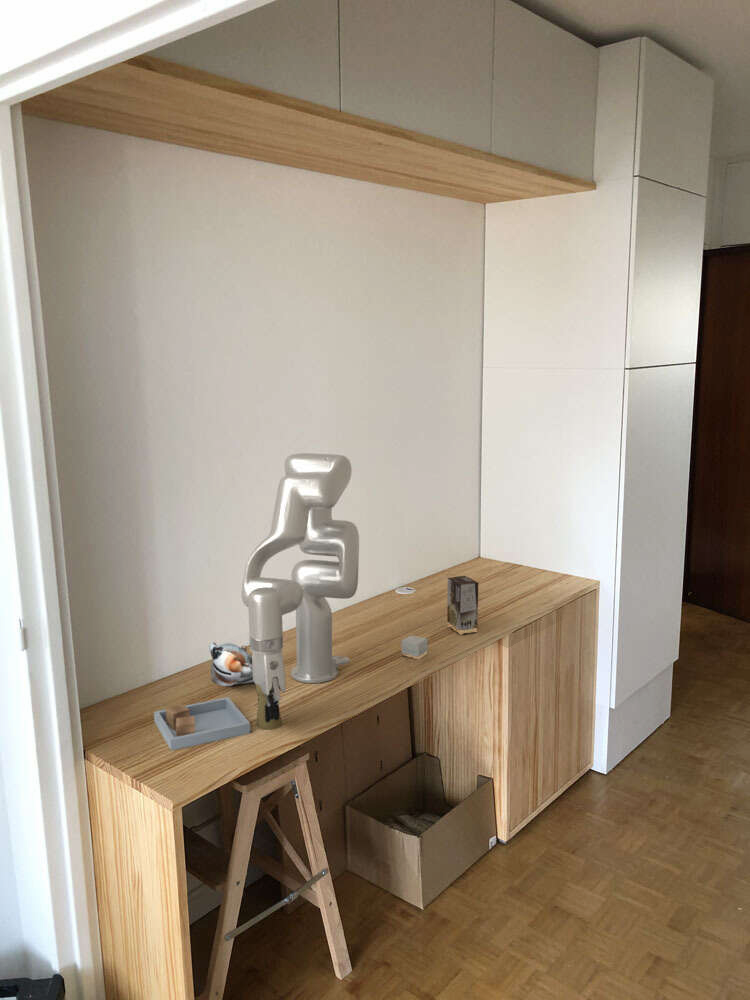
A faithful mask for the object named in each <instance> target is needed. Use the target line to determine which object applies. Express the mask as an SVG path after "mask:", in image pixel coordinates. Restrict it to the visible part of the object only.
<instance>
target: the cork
mask: <svg viewBox="0 0 750 1000" xmlns="http://www.w3.org/2000/svg"><path fill="white" fill-rule="evenodd" d="M255 687H256V688H255V689H256V693H258V694H257V696H258V695H259V697H258V698H259V701H258V700H257V711H256V713H257V714H256V722H255V726H256V727H257V728H258V729H259V730H262V731H263V730H265V731H269V730H276V729H278V728H280V727H281V726H282V724H283V722H282V716H281V710H280V708H279V720H276V721H275V719H271V720H270V722H266V721H265V705H266V697H265V694H264V693H263V692H262V690H261V688H260V686H259V684H257V685H256V686H255ZM269 692H273V691H272V690H269ZM272 697H273V695H270V696H269V699H270V698H272Z"/></svg>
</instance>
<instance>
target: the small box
mask: <svg viewBox="0 0 750 1000" xmlns="http://www.w3.org/2000/svg"><path fill="white" fill-rule="evenodd" d="M428 639H429V638H425V637H421V636H416V635H410V636H407V637H405V638H403V639H402V640H401V653H403V654H407V655H412V656H415V657H419V656H420V655H422V654H424V653H425V652H426V651H429V650H428V647H429V645H428V644H429V640H428Z"/></svg>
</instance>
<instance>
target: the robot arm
mask: <svg viewBox="0 0 750 1000" xmlns="http://www.w3.org/2000/svg"><path fill="white" fill-rule="evenodd" d="M352 470H353V469H352V464H351V461H350V459H349V458H348V457H347V456H345V455H342V454H334V453H333V454H325V453H311V452H310V453H302V452H301V453H294V454H293V453H292V454H290V455H289V456H287V457H286V459H285V460H284V472H285V476H283V477H281V479H280V480H279V483H278V485H277V492H276V497H275V503H274V508H273V509H274V510H273V514H272V520H271V527H270V531H269V534H268V535H267V536H266V538H265V539H263V540H262V541H261V542H260V543H259V544H258V545H257V546H256V547H255V549H254V550H253V551H252V553H251V554H250V556H249V557H248V559H247V561H246V565H245V568H244V574H243V579H242V584H241V601H242V603H243V604H244V606H245V607H247V609H248V631H249V632H248V634H249V650H250V652H252V655H251V656H252V673H253V680H254V682H253V683H254V684H255V685H256V686H257V684H259V686H260V688H261V690H262V692H263V693H264V694H265V697H266V705H265V721H266V722H270V720H271V719H275V721H276V720H279V709H280V701H281V699H282V696H281V692H282V693H285V692H286V691H287V690H286V688H287V685H286V673H285V663H284V656H283V655H284V654H283V653H282V650H283V649H284V639H283V638H284V637H283V636H284V635H283V631H284V630H283V616H284V615H286V614H290V613H292V612H294V611H295V630H296V631H295V632H296V634H295V635H296V643H295V644H296V665H295V666H294V667H292V669H291V670H290V674H291V675H290V676H291V677H292V679H294V680H295V681H298V682H301V683H307V684H308V683H309V684H319V683H320V682H321V683H325V681H326V682H329V681H332V680H333V679H335V678H337V677H338V674H339V668H338V667H339V666H341V665H348V664H349V663H350V658H349V656H343V657H341V655H335V656H333V614H332V608H331V605H330V604H329V602H328V599H327V598H331V599H342V600H343V599H345V600H347V599H351V598H353V597H354V596H355V594H356V592H357V590H358V584H359V562H360V557H359V556H360V534H359V530H358V527H357V525H356V524H355V523H354V522H352V521H349V520H343V519H341V520H340V519H337V520H336V519H333V515H332V514H333V513H332V510H333V508H334V507H335V506H336V504H337V503H338V501H339V500H340V498H341V497H342V495H343V493H344V492H345V490H346V488H347V487H348V485H349V483H350V480H351V478H352ZM298 545H299V549H300V551H301V552H302V553H304V554H306V555H313V556H324V557H336V558H337V559H338V561H334V560H333V561H332V560H331V561H329V560H323V559H303V560H301V561H298V562H297V563H296V564H294V566H293V567H292V570H291V575H290V576H291V579H282V578H275V577H262V576H261V575H262V571H263V569H264V566H265V565H266V564H267V562H268V561H269V560H271V558H272V557H274V556H275V555H276V554H279V553H280V552H283V551H285V550H288V549H291V548H294V547H295V546H298ZM269 690H272V691H273V692H269ZM256 693H257V692H256ZM270 695H273V697H272V698H270V699H269V696H270ZM258 701H259V695H258V693H257V702H258Z"/></svg>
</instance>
